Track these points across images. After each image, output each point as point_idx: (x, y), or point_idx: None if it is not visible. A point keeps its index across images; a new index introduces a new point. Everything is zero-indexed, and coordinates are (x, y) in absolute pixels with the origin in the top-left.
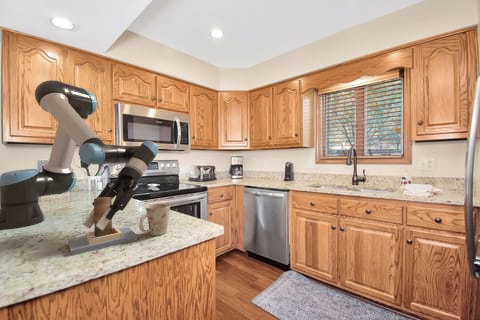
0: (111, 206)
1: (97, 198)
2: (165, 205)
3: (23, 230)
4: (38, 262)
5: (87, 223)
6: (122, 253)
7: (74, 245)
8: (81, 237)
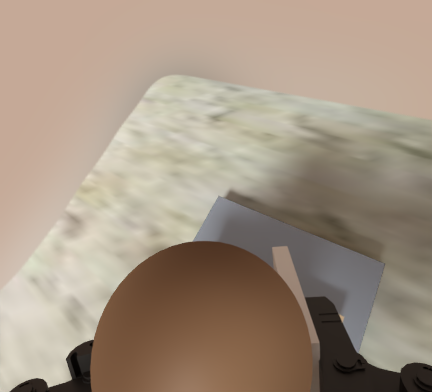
0: (83, 345)
1: (265, 310)
2: None
3: None
4: (266, 144)
5: (275, 269)
6: (54, 286)
7: (258, 227)
8: (346, 303)
